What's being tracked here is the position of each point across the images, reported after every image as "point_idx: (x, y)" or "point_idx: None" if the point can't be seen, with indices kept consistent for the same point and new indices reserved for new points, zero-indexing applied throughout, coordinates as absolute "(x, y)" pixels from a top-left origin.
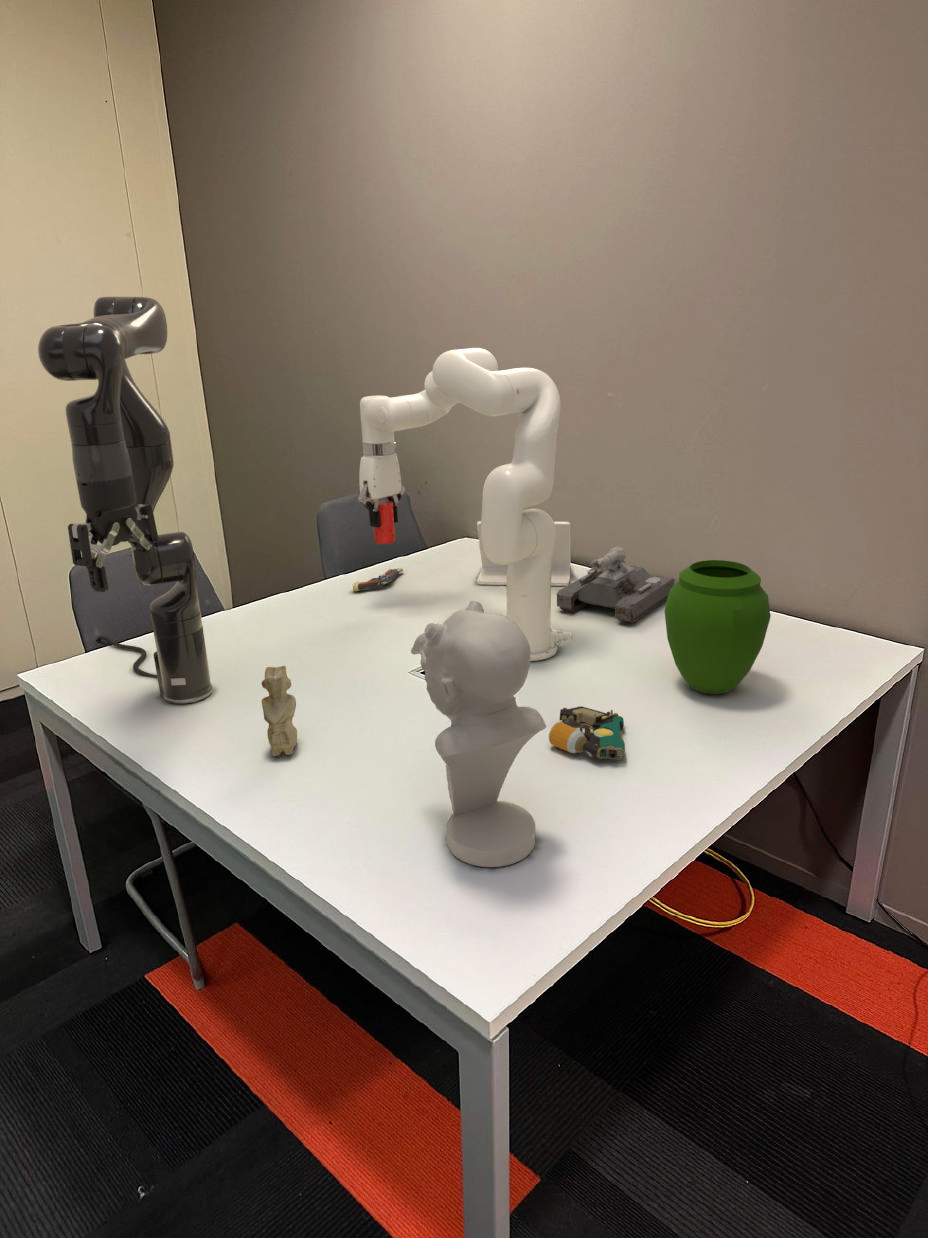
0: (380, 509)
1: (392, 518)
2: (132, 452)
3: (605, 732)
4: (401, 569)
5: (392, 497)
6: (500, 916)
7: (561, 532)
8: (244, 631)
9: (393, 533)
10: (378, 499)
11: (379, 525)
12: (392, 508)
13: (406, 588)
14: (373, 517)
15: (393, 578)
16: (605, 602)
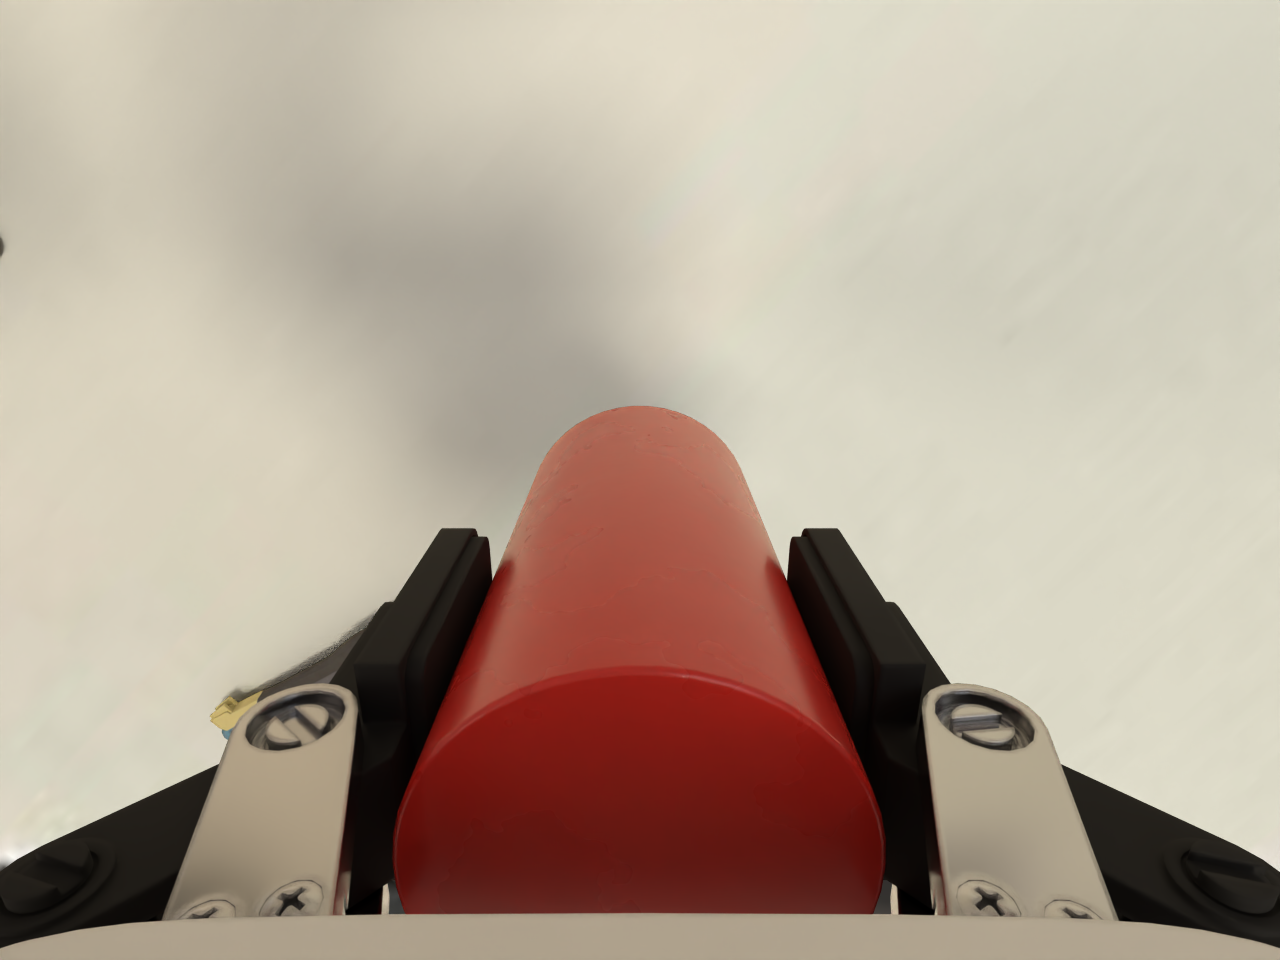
0: (830, 699)
1: (587, 516)
2: None
3: None
4: (228, 709)
5: (345, 891)
6: None
7: None
8: (1231, 666)
9: (601, 438)
10: (989, 908)
11: (829, 534)
12: (546, 611)
13: (361, 528)
14: (926, 662)
15: (361, 631)
16: None
